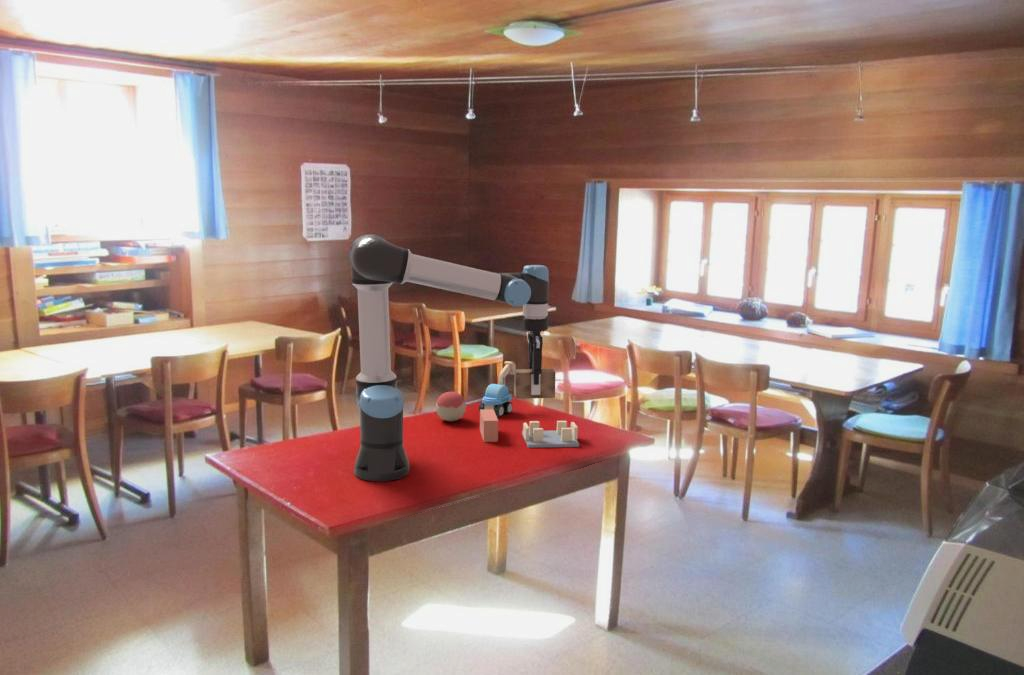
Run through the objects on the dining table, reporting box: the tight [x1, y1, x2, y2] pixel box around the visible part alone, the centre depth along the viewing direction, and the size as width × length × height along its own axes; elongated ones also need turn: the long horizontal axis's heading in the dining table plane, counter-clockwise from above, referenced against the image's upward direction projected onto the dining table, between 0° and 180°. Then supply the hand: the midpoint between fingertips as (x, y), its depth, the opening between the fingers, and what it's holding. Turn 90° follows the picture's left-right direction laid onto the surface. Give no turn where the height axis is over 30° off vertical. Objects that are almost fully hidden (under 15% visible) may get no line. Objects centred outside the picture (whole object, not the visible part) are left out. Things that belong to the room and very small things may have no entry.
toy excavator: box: [478, 360, 517, 418], centre depth 285 cm, size 9×17×17 cm, turn 148°
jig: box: [521, 420, 580, 449], centre depth 254 cm, size 16×14×5 cm
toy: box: [435, 391, 467, 422], centre depth 273 cm, size 10×12×10 cm
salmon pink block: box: [479, 409, 499, 443], centre depth 257 cm, size 4×13×7 cm, turn 8°
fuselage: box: [513, 368, 556, 400], centre depth 243 cm, size 12×4×8 cm, turn 96°
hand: (534, 392), depth 244 cm, fingers closed on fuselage, 4 cm apart
